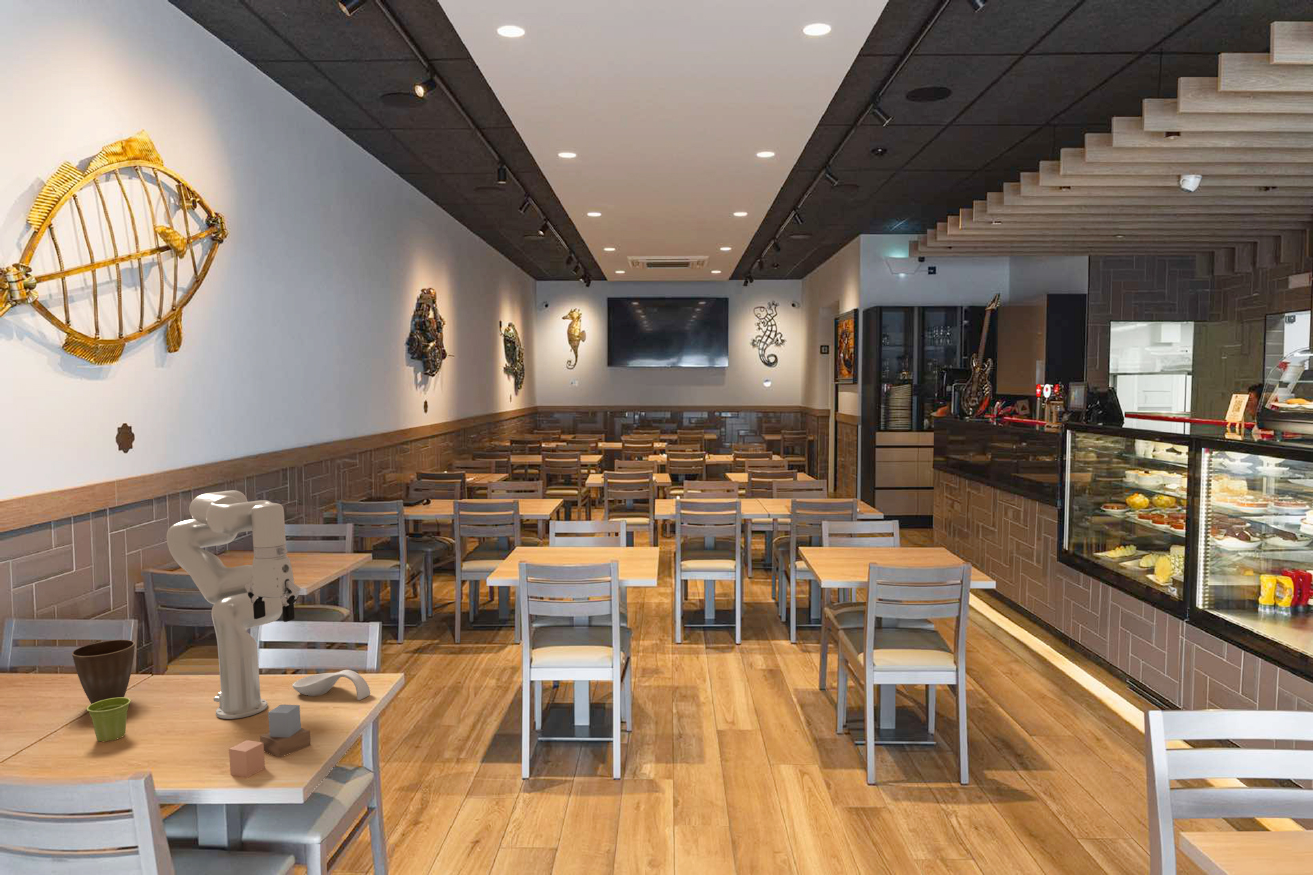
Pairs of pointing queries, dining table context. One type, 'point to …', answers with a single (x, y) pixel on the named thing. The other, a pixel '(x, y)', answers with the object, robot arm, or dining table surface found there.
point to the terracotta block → (246, 758)
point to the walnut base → (285, 743)
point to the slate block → (284, 721)
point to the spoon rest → (330, 683)
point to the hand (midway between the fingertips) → (274, 618)
